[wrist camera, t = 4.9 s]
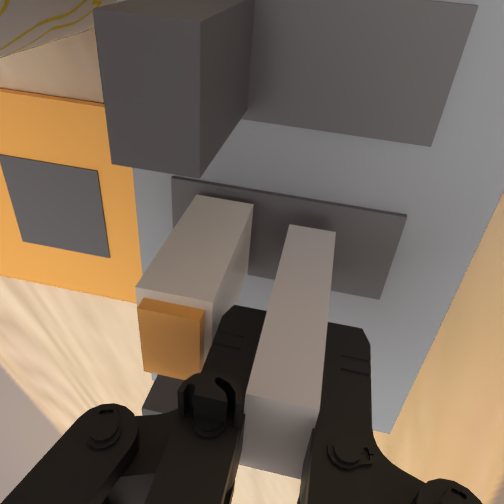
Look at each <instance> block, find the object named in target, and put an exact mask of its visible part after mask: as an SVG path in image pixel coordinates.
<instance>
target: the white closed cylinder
mask: <svg viewBox="0 0 504 504" xmlns="http://www.w3.org/2000/svg"><path fill="white" fill-rule="evenodd" d="M113 3H117V0H0V58H1V57H5V56H8V55H11V54H14V53H17V52H21V51H24V50H27V49H30V48H33V47H36V46H40V45H43V44H46V43H49V42H52V41H56V40H59V39H62V38H65V37H68V36H72V35H75V34H78V33H81V32H84V31H86V30H89V29H91V28H93V27H95V26H94V18H93V9H92V8H97V7H101V6H105V5H109V4H113Z"/></svg>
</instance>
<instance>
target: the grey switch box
mask: <svg viewBox="0 0 504 504" xmlns="http://www.w3.org/2000/svg"><path fill="white" fill-rule="evenodd" d="M92 9H93V18H94V26H95V34H96V42H97V50H98V58H99V66H100V74H101V82H102V90H103V99H104V107H105V115H106V123H107V131H108V139H109V147H110V155H111V163H112V164H114V165H120V166H126V167H132V170H133V181H134V191H135V202H136V213H137V223H138V234H139V245H140V256H141V266H142V276H143V274H144V273H145V271H146V270H147V268H148V267H149V265H150V264H151V262H152V261H153V259H154V258H155V256H156V255H157V253H158V252H159V250H160V249H161V247H162V246H163V244H164V242H165V241H166V239H167V238H168V236H169V235H170V233H171V232H172V230H173V229H174V227H175V226H176V224H177V223H178V221H179V220H180V218H181V217H182V215H183V214H184V212H185V211H186V209H187V208H188V206H189V205H190V203H191V202H192V200H193V199H194V197H195V196H196V194H197V195H202V196H208V197H214V198H220V199H226V200H232V201H238V202H244V203H249V204H254V206H253V217H252V228H251V239H250V250H249V261H248V272H247V276H246V279H245V282H244V285H243V288H242V291H241V293H240V296H239V299H238V302H237V305H239V306H244V307H249V308H254V309H259V310H265V311H267V309H268V305H269V301H270V298H271V294H272V290H273V286H274V282H275V278H276V274H277V270H278V267H279V263H280V259H281V255H282V251H283V247H284V243H285V240H286V236H287V232H288V228H289V224H291V225H297V226H303V227H309V228H315V229H321V230H327V231H333V232H336V236H335V247H334V258H333V269H332V280H331V291H330V302H329V313H328V322H332V323H337V324H342V325H347V326H352V327H357V328H362V329H363V331H364V333H365V335H366V337H367V339H368V341H369V342H370V346H371V362H370V364H371V395H372V430H375V431H380V432H384V433H388V434H390V432H391V430H392V428H393V426H394V423H395V421H396V419H397V417H398V415H399V413H400V411H401V409H402V406H403V404H404V402H405V400H406V398H407V396H408V394H409V391H410V389H411V387H412V385H413V383H414V381H415V379H416V377H417V374H418V372H419V370H420V368H421V366H422V364H423V362H424V360H425V357H426V355H427V353H428V351H429V349H430V347H431V345H432V343H433V340H434V338H435V336H436V334H437V332H438V330H439V328H440V326H441V323H442V321H443V319H444V317H445V315H446V313H447V311H448V309H449V306H450V304H451V302H452V300H453V298H454V296H455V294H456V292H457V289H458V287H459V285H460V283H461V281H462V279H463V277H464V274H465V272H466V270H467V268H468V266H469V264H470V262H471V260H472V257H473V255H474V253H475V251H476V249H477V247H478V245H479V243H480V240H481V238H482V236H483V234H484V232H485V230H486V228H487V226H488V223H489V221H490V219H491V217H492V215H493V213H494V211H495V209H496V206H497V204H498V202H499V200H500V198H501V196H502V194H503V192H504V0H117V3H113V4H109V5H105V6H101V7H97V8H92ZM152 380H154V384H153V386H152V388H151V390H150V392H149V394H148V396H147V398H146V400H145V403H144V405H143V407H142V414H143V416H144V415H156V414H162V413H168V412H170V411H173V410H175V409H177V408H178V397H177V390H178V389H179V387H180V386H181V384H182V383H183V381H185V380H181V379H177V378H172V377H168V376H164V375H159V374H155V373H152Z"/></svg>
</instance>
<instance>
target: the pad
mask: <svg viewBox="0 0 504 504" xmlns="http://www.w3.org/2000/svg"><path fill="white" fill-rule="evenodd" d="M0 276H5V277H10V278H15V279H20V280H25V281H30V282H34V283H39V284H44V285H49V286H54V287H59V288H64V289H69V290H73V291H78V292H83V293H88V294H93V295H98V296H103V297H108V298H112V299H117V300H122V301H127V302H132V303H137V300H136V290H135V286H136V285H137V283H138V282H139V280H140V279H141V277H142V266H141V256H140V245H139V234H138V223H137V213H136V202H135V191H134V181H133V170H132V167H126V166H120V165H114V164H112V163H111V155H110V147H109V139H108V131H107V123H106V115H105V107H104V104H102V103H95V102H89V101H82V100H75V99H69V98H62V97H55V96H48V95H42V94H35V93H28V92H21V91H15V90H8V89H1V88H0Z"/></svg>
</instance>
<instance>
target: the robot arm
mask: <svg viewBox="0 0 504 504" xmlns="http://www.w3.org/2000/svg"><path fill="white" fill-rule="evenodd" d="M335 236H336V232H333V231H327V230H321V229H315V228H309V227H303V226H297V225H291V224H289V228H288V232H287V236H286V240H285V243H284V247H283V251H282V255H281V259H280V263H279V267H278V270H277V274H276V278H275V282H274V286H273V290H272V294H271V298H270V301H269V305H268V309H267V311H265V310H259V309H254V308H249V307H244V306H239V305H233V306H232V307H231V308H230V309H229V310H228V311H227V312H226V313H225V314H224V315H223V316H222V318H221V320H220V323H219V326H218V328H217V332H216V334H215V336H214V339H213V342H212V346H211V347H210V350H209V352H208V355H207V358H206V360H205V363H204V366H203V368H202V371H201V372H200V373H196V374H193V375H192V376H190V377H189V378H188V379H186V380H185V381H183V383H182V384H181V386H180V387H179V389H178V390H177V397H178V408H177V409H175V410H173V411H170V412H168V413H162V414H156V415H144V416H134V413H133V412H131V411H130V410H129V409H128V408H127V407H125V406H122V405H118V404H114V403H113V404H101V405H99V406H97V407H94V408H92V409H89V410H88V411H87V412H85V413H84V414H83V415H82V416H81V417H79V418H78V419H77V420H76V421H75V423H74V424H73V425H72V426H71V427H70V428H69V429H68V430H67V431H66V432H65V434H64V435H63V436H62V437H61V438H60V439H59V440H58V441H57V442H56V443H55V445H54V446H53V447H52V448H51V449H50V450H49V451H48V452H47V453H46V454H45V455H44V457H43V458H42V459H41V460H40V461H39V462H38V463H37V464H36V465H35V467H34V468H33V469H32V470H31V471H30V472H29V473H28V474H27V475H26V476H25V478H24V479H23V480H22V481H21V482H20V483H19V484H18V485H17V486H16V488H14V490H13V491H12V492H11V493H10V494H9V495H8V496H7V497H6V498H5V499H4V500H3V502H2V503H1V504H231V501H232V497H233V492H234V484H235V477H236V473H237V469H238V465H239V464H240V465H244V466H248V467H252V468H256V469H260V470H264V471H269V472H273V473H277V474H281V475H285V476H289V477H293V478H297V479H301V485H300V494H299V498H298V501H297V504H482V503H481V501H480V500H479V499H478V498H477V497H476V496H475V495H474V494H473V493H472V492H471V491H470V490H469V489H468V488H466V487H464V486H462V485H460V484H458V483H457V482H455V481H451V480H446V479H441V478H440V479H435V480H431V481H428V482H427V483H424V482H422V481H421V480H419V479H417V478H415V477H413V476H412V475H410V474H408V473H406V472H405V471H403V470H401V469H400V468H398V467H397V466H395V465H394V464H392V463H391V462H390V461H389V460H388V459H387V458H386V457H385V456H384V455H383V454H382V452H381V451H380V449H379V448H378V446H377V444H376V442H375V439H374V436H373V430H372V395H371V364H370V362H371V346H370V342H369V341H368V339H367V337H366V335H365V333H364V331H363V329H362V328H357V327H352V326H347V325H342V324H337V323H332V322H328V313H329V302H330V291H331V280H332V269H333V258H334V247H335Z"/></svg>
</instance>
